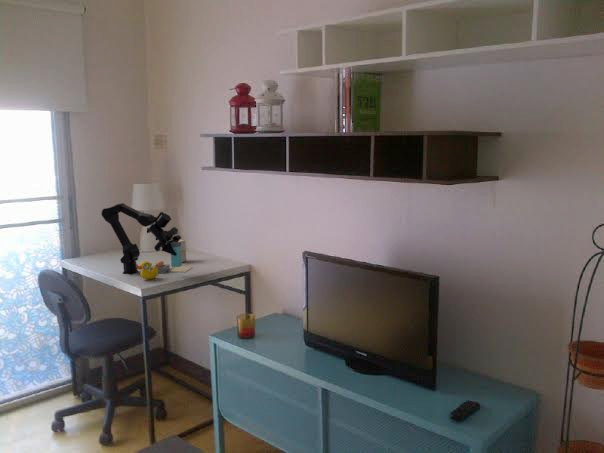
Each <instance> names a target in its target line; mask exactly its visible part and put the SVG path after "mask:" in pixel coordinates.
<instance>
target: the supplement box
mask: <svg viewBox="0 0 604 453" xmlns="http://www.w3.org/2000/svg"><path fill="white" fill-rule="evenodd" d="M178 242H181V256H182V263H184V262H187V250H186V249H187V248H186V240H185V239H180V240H179V241H178Z"/></svg>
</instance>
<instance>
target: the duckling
mask: <svg viewBox="0 0 604 453" xmlns="http://www.w3.org/2000/svg"><path fill="white" fill-rule="evenodd" d="M152 266H154V265H153V263H151V262H149V261H145V260H144V261H142V262H141V263H140V265H139V264H137V265H136V267H137V270H138V271H139V270H140V271H141V272H140V277H141V278H142V279H143V280H146V281H149V280H153V279H155V278H156V277H157V276H158V275H159V273H158V268H157V267H156V266H154V267H153V269H152V271H150V268H151V267H152Z"/></svg>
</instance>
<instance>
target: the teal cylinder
mask: <svg viewBox="0 0 604 453" xmlns="http://www.w3.org/2000/svg"><path fill="white" fill-rule="evenodd" d="M170 244H171V247H172V248H173V250H174V251H175V252H176V254H177V255H176V256H174V255H172V254H170V260H171V268H173V267H183V262H182V256H181V242H172V243H170Z"/></svg>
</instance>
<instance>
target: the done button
mask: <svg viewBox="0 0 604 453" xmlns="http://www.w3.org/2000/svg"><path fill="white" fill-rule="evenodd" d="M164 264H165V262H164V260H156V261H155V265H156V267H163V266H164Z"/></svg>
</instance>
